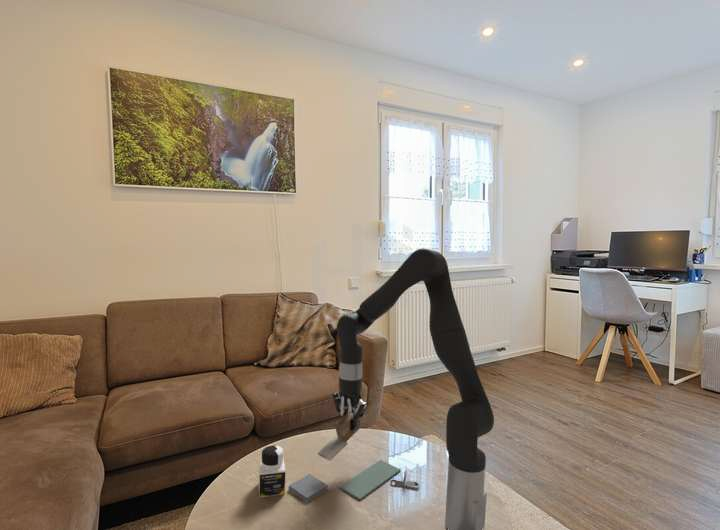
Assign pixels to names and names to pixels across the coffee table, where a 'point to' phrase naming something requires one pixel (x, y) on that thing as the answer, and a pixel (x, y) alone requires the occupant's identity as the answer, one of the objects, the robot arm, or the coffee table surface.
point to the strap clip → (408, 484)
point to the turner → (339, 437)
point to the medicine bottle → (272, 472)
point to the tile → (308, 488)
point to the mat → (369, 479)
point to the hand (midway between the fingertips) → (348, 427)
